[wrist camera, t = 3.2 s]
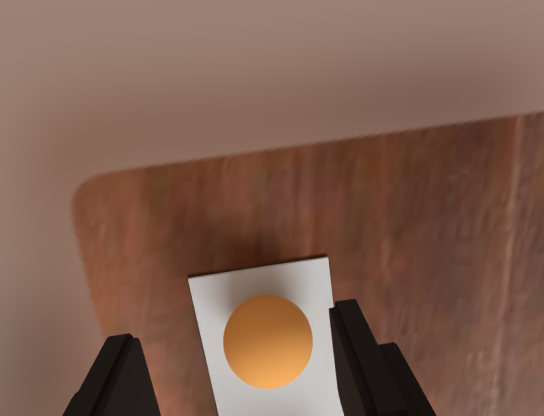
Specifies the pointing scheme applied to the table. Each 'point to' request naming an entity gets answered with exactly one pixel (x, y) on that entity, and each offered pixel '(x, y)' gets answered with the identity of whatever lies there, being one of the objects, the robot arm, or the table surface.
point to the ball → (267, 341)
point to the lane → (315, 305)
